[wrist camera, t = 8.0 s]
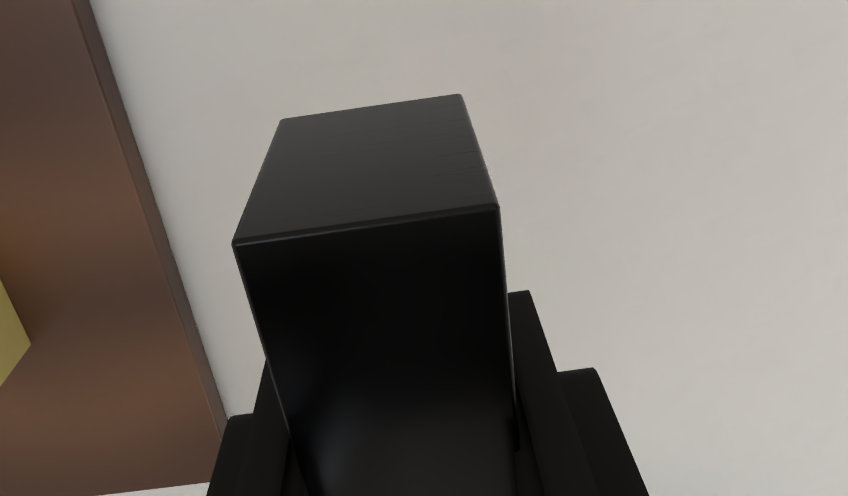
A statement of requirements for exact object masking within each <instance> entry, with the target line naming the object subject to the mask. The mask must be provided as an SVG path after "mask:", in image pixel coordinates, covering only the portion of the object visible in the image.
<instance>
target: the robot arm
mask: <svg viewBox="0 0 848 496" xmlns="http://www.w3.org/2000/svg"><path fill="white" fill-rule="evenodd" d="M507 295H508V306H509V318H510V329H511V341H512V353H513V364H514V376H515V387H516V399H517V411H518V422H519V434H520V445H521V448H520V451H518V452H514V455H515V466H516V477H517V488H518V496H649V494H648V492H647V489H646V487H645V484H644V482H643V480H642V477H641V475H640V473H639V470H638V468H637V465H636V463H635V461H634V458H633V456H632V453H631V451H630V449H629V446H628V444H627V442H626V439H625V437H624V434H623V432H622V430H621V427H620V425H619V422H618V420H617V418H616V415H615V413H614V411H613V408H612V406H611V403H610V401H609V399H608V396H607V394H606V391H605V389H604V387H603V384H602V382H601V380H600V377H599V375H598V373H597V371H596V370H595V369H594V368H593V367H592V368H585V369H577V370H570V371H563V372H557V370H556V367H555V364H554V361H553V358H552V355H551V352H550V349H549V346H548V343H547V340H546V338H545V335H544V332H543V329H542V326H541V323H540V320H539V317H538V314H537V311H536V308H535V305H534V302H533V299H532V296H531V294H530V291H529V290H525V291H518V292H510V293H507ZM206 496H309V494H308V491H307V488H306V484H305V481H304V479H303V478H302V475H301V472H300V469H299V466H298V462H297V459H296V456H295V452H294V449H293V446H292V442H291V439H290V436H289V433H288V429H287V426H286V423H285V419H284V416H283V413H282V410H281V406H280V403H279V400H278V396H277V393H276V390H275V387H274V383H273V380H272V377H271V373H270V370H269V367H268V364H267V360H266V361H265V365H264V369H263V373H262V377H261V382H260V386H259V390H258V394H257V399H256V403H255V407H254V411H253V413H251V414H243V415H236V416H232V417H231V418H230V419H229V420H228V422H227V425H226V427H225V431H224V434H223V438H222V441H221V445H220V449H219V452H218V456H217V459H216V463H215V466H214V470H213V474H212V477H211V481H210V484H209V488H208V492H207V495H206Z"/></svg>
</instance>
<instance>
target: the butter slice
mask: <svg viewBox="0 0 848 496" xmlns="http://www.w3.org/2000/svg"><path fill="white" fill-rule="evenodd" d="M30 345H31V342H30V340H29V338H28V336H27V334H26V332H25V330H24V328H23V326H22V324H21V321H20V319H19V317H18V315H17V313H16V311H15V309H14V307H13V305H12V303H11V300H10V298H9V296H8V294H7V292H6V290H5V288H4V286H3V284H2V282H1V280H0V386H1V385H2V383H3V382H4V381H5V379H6V378H7V377H8V375H9V374H10V373H11V371H12V370H13V368H14V367H15V366H16V364H17V363H18V362H19V360H20V359H21V357H22V356H23V355H24V353H25V352H26V351H27V349H28V348H29V347H30Z"/></svg>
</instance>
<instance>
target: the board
mask: <svg viewBox="0 0 848 496" xmlns="http://www.w3.org/2000/svg"><path fill="white" fill-rule="evenodd" d="M0 280H1V282H2V284H3V286H4V288H5V290H6V292H7V294H8V296H9V298H10V300H11V303H12V305H13V307H14V309H15V311H16V313H17V315H18V317H19V319H20V321H21V324H22V326H23V328H24V330H25V332H26V334H27V336H28V338H29V340H30V342H31V345H30V347H29V348H28V349H27V351H26V352H25V353H24V355H23V356H22V357H21V359H20V360H19V362H18V363H17V364H16V366H15V367H14V368H13V370H12V371H11V373H10V374H9V375H8V377H7V378H6V379H5V381H4V382H3V383H2V385H1V386H0V496H98V495H107V494H115V493H123V492H132V491H140V490H148V489H157V488H165V487H173V486H182V485H190V484H198V483H207V482H210V481H211V477H212V474H213V470H214V466H215V463H216V459H217V456H218V452H219V449H220V445H221V441H222V438H223V434H224V431H225V427H226V425H227V422H228V421H227V418H226V415H225V412H224V409H223V406H222V403H221V400H220V397H219V394H218V391H217V388H216V385H215V382H214V379H213V376H212V373H211V370H210V367H209V364H208V361H207V358H206V355H205V351H204V348H203V345H202V342H201V339H200V336H199V333H198V330H197V327H196V324H195V321H194V318H193V315H192V312H191V309H190V306H189V303H188V300H187V297H186V294H185V291H184V288H183V285H182V282H181V279H180V276H179V273H178V270H177V267H176V264H175V261H174V258H173V255H172V252H171V249H170V246H169V242H168V239H167V236H166V233H165V230H164V227H163V224H162V221H161V218H160V215H159V212H158V209H157V206H156V203H155V200H154V197H153V194H152V191H151V188H150V185H149V182H148V179H147V176H146V173H145V170H144V167H143V164H142V161H141V158H140V155H139V152H138V149H137V146H136V143H135V140H134V137H133V133H132V130H131V127H130V124H129V121H128V118H127V115H126V112H125V109H124V106H123V103H122V100H121V97H120V94H119V91H118V88H117V85H116V82H115V79H114V76H113V73H112V70H111V67H110V64H109V61H108V58H107V55H106V52H105V49H104V46H103V43H102V40H101V37H100V34H99V31H98V27H97V24H96V21H95V18H94V15H93V12H92V9H91V6H90V3H89V0H0Z"/></svg>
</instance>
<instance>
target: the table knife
mask: <svg viewBox="0 0 848 496" xmlns="http://www.w3.org/2000/svg"><path fill="white" fill-rule="evenodd" d="M231 245H232V248H233V252H234V255H235V258H236V262H237V265H238V268H239V272H240V275H241V278H242V281H243V285H244V288H245V291H246V295H247V298H248V301H249V304H250V308H251V311H252V314H253V318H254V321H255V324H256V327H257V331H258V334H259V337H260V341H261V344H262V347H263V350H264V354H265V357H266V360H267V364H268V367H269V370H270V373H271V377H272V380H273V383H274V387H275V390H276V393H277V396H278V400H279V403H280V406H281V410H282V413H283V416H284V419H285V423H286V426H287V429H288V433H289V436H290V439H291V442H292V446H293V449H294V452H295V456H296V459H297V462H298V466H299V469H300V472H301V475H302V478H303V479H304V481H305V484H306V488H307V491H308V494H309V496H518V488H517V477H516V466H515V455H514V452H518V451H520V448H521V445H520V434H519V422H518V411H517V399H516V387H515V376H514V364H513V353H512V341H511V329H510V318H509V306H508V295H507V283H506V271H505V260H504V248H503V237H502V225H501V213H500V206H499V203H498V200H497V197H496V194H495V191H494V188H493V185H492V182H491V179H490V176H489V173H488V170H487V167H486V164H485V161H484V159H483V156H482V153H481V150H480V147H479V144H478V141H477V138H476V135H475V132H474V129H473V126H472V123H471V120H470V117H469V114H468V111H467V108H466V105H465V102H464V100H463V97H462V95H461V94H452V95H446V96H439V97H432V98H425V99H418V100H411V101H404V102H397V103H390V104H383V105H376V106H369V107H362V108H355V109H348V110H341V111H334V112H327V113H320V114H313V115H306V116H299V117H292V118H285V119H282V120H280V122H279V125H278V127H277V130H276V132H275V135H274V137H273V140H272V142H271V145H270V147H269V150H268V152H267V155H266V157H265V159H264V162H263V164H262V167H261V169H260V172H259V174H258V177H257V179H256V182H255V184H254V187H253V189H252V192H251V194H250V197H249V199H248V202H247V204H246V207H245V209H244V212H243V214H242V217H241V219H240V222H239V224H238V227H237V229H236V232H235V234H234V237H233V239H232V244H231Z"/></svg>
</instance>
